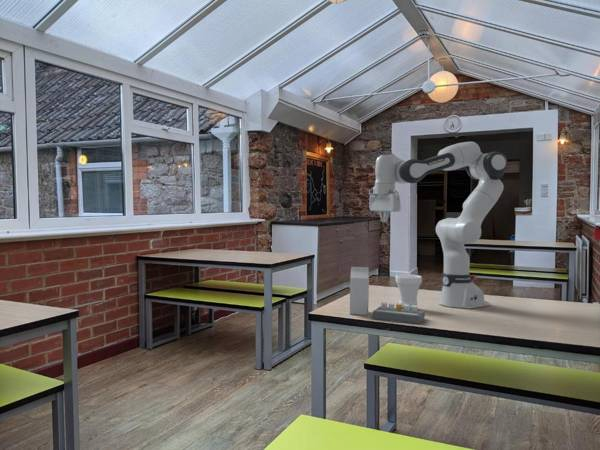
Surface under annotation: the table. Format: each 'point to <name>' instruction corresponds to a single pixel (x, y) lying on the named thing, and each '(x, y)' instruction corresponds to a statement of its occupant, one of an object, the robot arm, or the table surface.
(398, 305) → the rocker switch
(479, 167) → the robot arm
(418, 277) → the cup
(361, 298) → the milk carton
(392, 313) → the switch box
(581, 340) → the table surface
